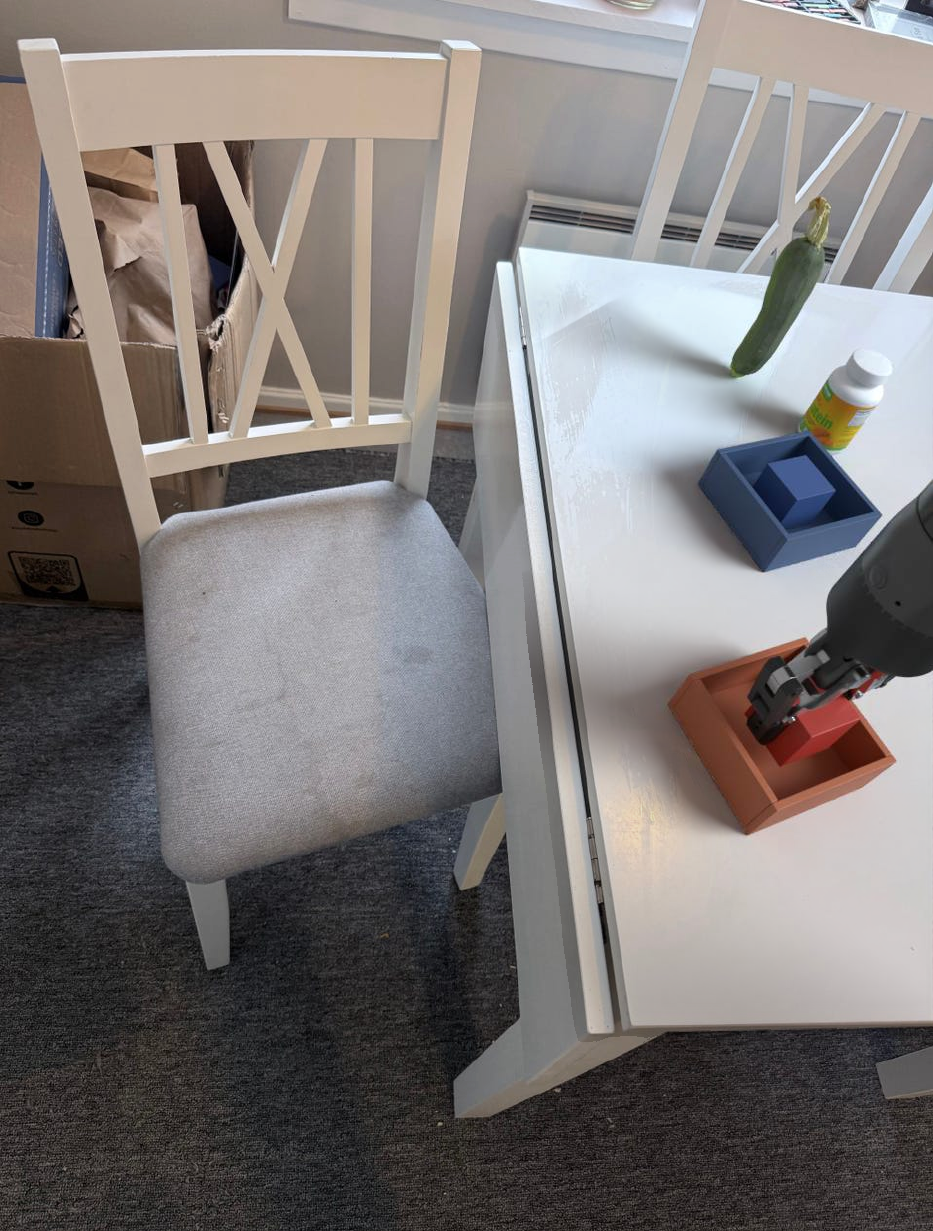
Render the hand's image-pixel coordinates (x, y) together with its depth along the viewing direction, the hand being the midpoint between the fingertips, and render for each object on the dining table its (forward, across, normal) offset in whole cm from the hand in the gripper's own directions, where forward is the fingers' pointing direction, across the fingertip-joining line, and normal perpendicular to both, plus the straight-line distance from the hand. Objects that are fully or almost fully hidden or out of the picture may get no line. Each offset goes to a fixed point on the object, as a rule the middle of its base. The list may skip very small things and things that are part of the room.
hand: (785, 722), depth 61 cm
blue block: (+3, +16, +20) cm, 26 cm away
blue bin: (+4, +16, +20) cm, 26 cm away
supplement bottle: (+4, +28, +28) cm, 40 cm away
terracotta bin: (+4, 0, 0) cm, 4 cm away
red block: (+1, 0, 0) cm, 1 cm away
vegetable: (+4, +24, +38) cm, 45 cm away
